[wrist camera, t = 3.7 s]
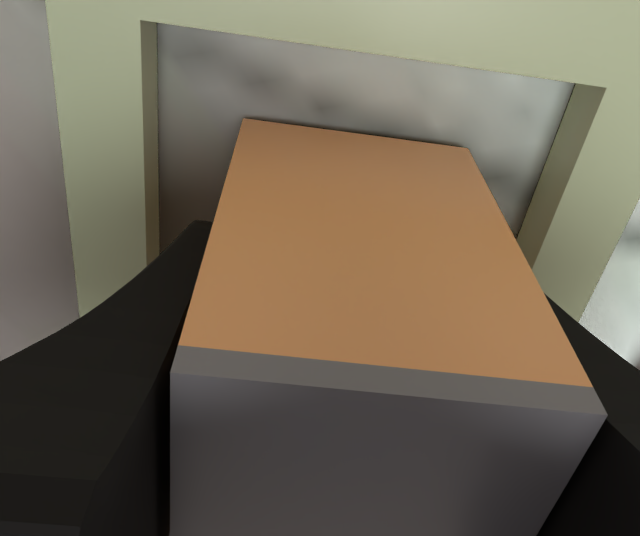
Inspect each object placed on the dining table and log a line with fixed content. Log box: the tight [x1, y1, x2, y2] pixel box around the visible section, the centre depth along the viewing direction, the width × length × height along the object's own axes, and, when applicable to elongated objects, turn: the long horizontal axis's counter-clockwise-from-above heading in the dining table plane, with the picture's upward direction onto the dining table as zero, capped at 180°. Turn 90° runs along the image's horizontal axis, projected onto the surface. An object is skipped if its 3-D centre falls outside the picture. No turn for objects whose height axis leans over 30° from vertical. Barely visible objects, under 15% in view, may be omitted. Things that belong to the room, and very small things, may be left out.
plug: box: [170, 118, 608, 536], centre depth 10 cm, size 4×4×7 cm
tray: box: [45, 0, 640, 322], centre depth 13 cm, size 11×11×1 cm
